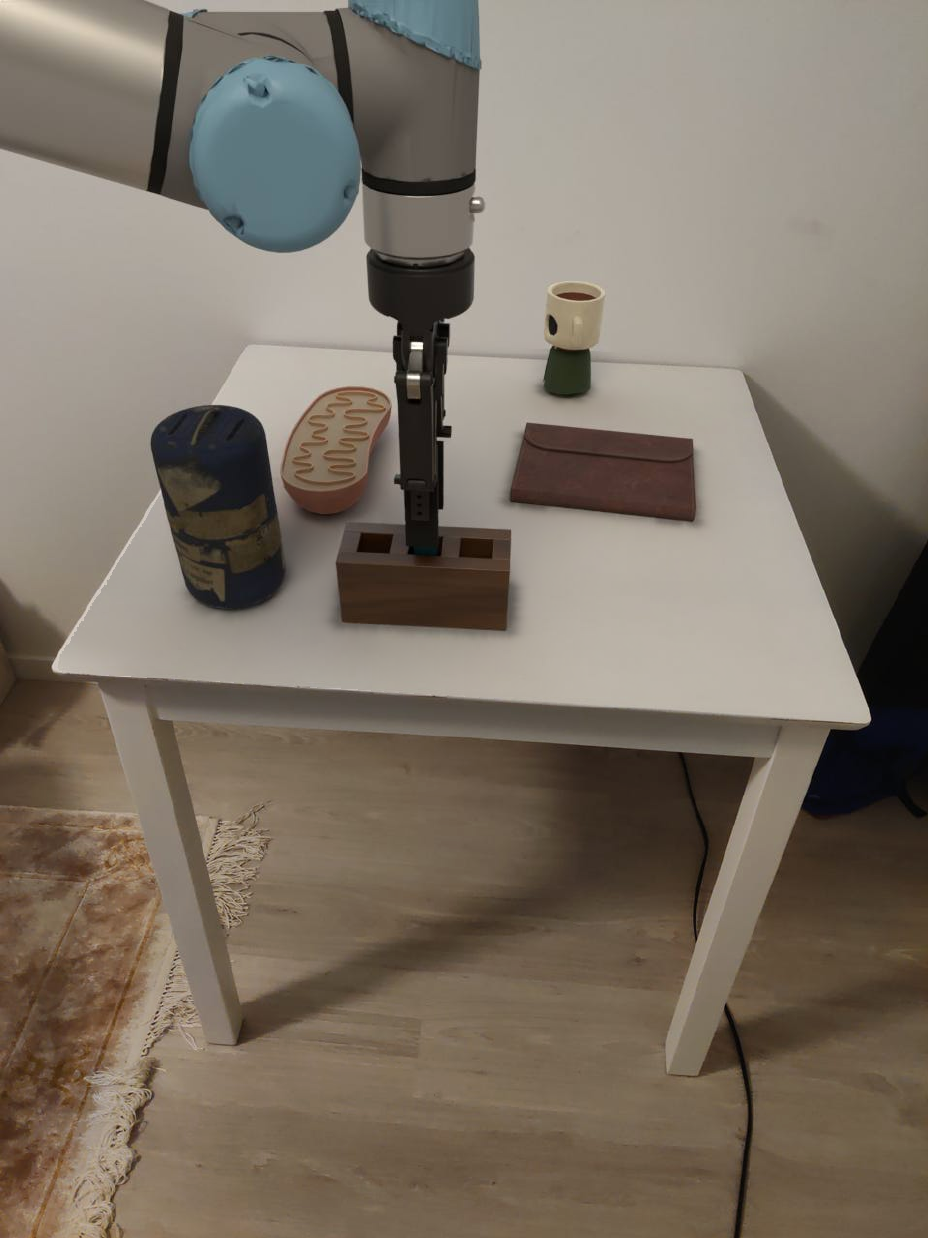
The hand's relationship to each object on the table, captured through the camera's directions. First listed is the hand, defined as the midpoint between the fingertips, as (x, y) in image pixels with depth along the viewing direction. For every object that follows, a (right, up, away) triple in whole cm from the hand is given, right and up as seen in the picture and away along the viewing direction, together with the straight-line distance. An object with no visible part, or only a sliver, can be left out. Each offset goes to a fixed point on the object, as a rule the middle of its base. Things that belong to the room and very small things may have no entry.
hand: (425, 524), depth 74 cm
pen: (0, -7, +6) cm, 9 cm away
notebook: (+19, +8, +24) cm, 32 cm away
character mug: (+17, +22, +39) cm, 48 cm away
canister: (-18, -5, +8) cm, 21 cm away
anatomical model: (-11, +8, +23) cm, 27 cm away
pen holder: (0, -7, +6) cm, 9 cm away
